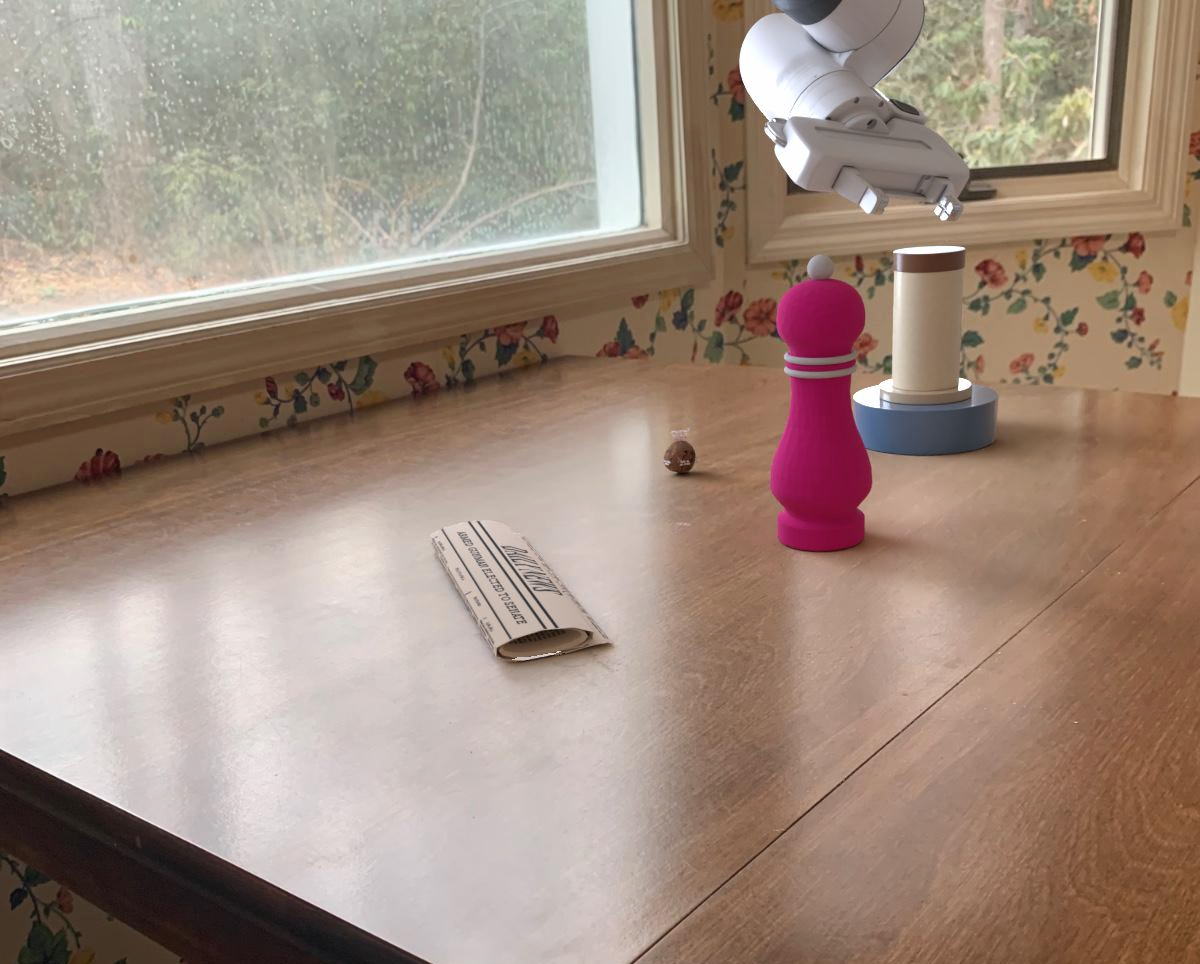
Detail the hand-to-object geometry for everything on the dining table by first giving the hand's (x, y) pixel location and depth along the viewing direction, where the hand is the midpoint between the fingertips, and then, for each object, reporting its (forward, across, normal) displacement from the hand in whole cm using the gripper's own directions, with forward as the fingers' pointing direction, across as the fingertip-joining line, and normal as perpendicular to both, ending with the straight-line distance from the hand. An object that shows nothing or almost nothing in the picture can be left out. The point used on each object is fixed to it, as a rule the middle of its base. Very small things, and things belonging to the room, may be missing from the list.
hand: (918, 211), depth 110 cm
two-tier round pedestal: (+14, +1, +15) cm, 20 cm away
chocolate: (+11, -22, +21) cm, 33 cm away
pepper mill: (+30, -25, +10) cm, 40 cm away
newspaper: (+27, -48, +16) cm, 57 cm away
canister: (+11, 0, +11) cm, 16 cm away
